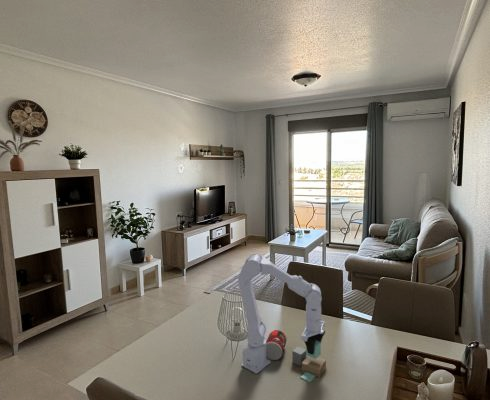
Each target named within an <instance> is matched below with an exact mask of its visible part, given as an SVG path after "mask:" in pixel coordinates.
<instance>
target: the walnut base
mask: <svg viewBox="0 0 490 400" xmlns="http://www.w3.org/2000/svg"><path fill="white" fill-rule="evenodd" d="M326 367H327V360H326V359H325V358H321V357H319V356H318V357H317V358H316V359H314V358H312V357H310V356H307V355H306V359H305V360H304V361H303V362H302V366H301V371H302V372H304V373H305V372H308V373H310V374H313V375H315V378H316V377H317V378H320V377H321V376H322V374H323V372H324V371H325V370H326Z"/></svg>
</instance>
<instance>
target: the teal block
mask: <svg viewBox="0 0 490 400" xmlns="http://www.w3.org/2000/svg"><path fill="white" fill-rule="evenodd" d="M321 345H322V341H321V342H319V341H316V343H315V347H314V354H313V355H312V354H309V353H308V351H307V347H306V346H305V347H306V349H305V350H306V357H307V356H310V357H312V358H314V359H316V358H317V357H319V356H320V355H321V354H322V353H321V352H322V351H321V349H322V347H321Z"/></svg>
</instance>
